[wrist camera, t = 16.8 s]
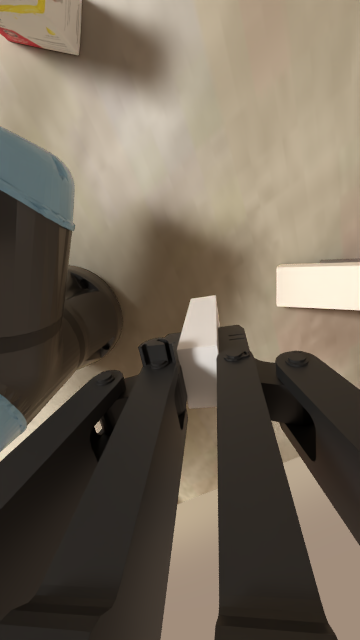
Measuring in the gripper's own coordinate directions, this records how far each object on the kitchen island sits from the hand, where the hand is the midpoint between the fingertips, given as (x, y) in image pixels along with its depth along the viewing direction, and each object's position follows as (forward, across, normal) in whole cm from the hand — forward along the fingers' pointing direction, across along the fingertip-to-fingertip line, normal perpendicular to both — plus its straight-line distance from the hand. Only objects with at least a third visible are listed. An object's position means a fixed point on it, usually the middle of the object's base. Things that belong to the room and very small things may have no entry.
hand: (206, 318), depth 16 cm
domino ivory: (+19, +8, -4) cm, 21 cm away
